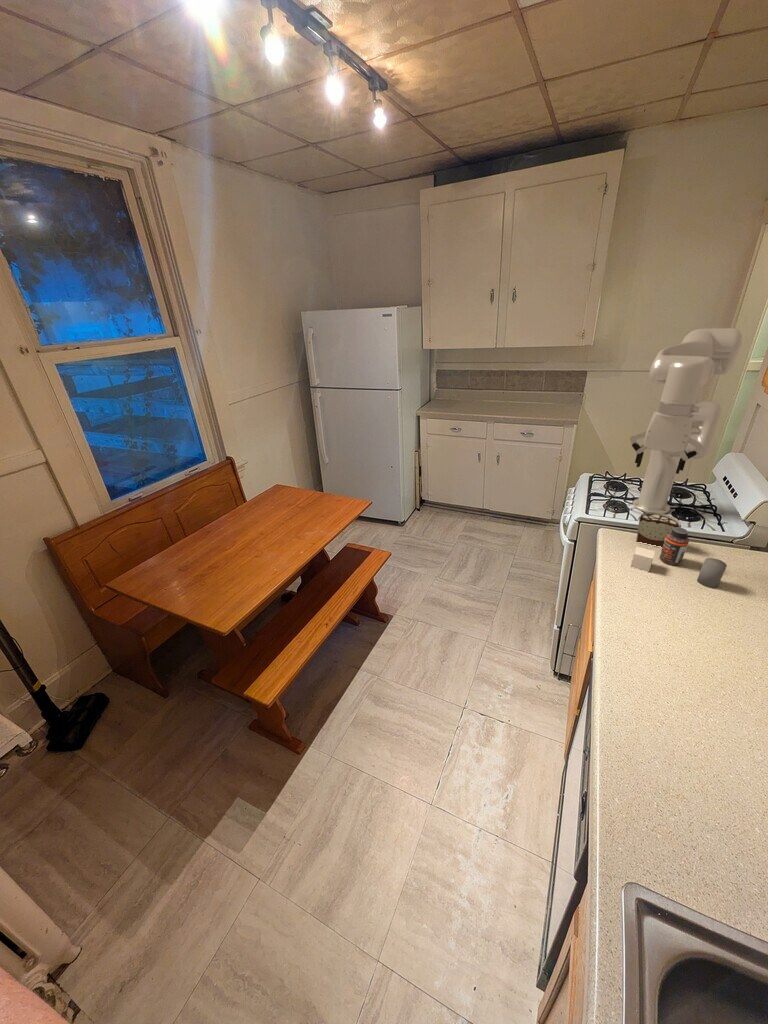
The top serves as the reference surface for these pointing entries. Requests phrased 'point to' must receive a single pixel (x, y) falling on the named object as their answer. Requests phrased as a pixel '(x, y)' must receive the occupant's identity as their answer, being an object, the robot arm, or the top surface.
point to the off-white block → (642, 559)
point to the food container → (655, 527)
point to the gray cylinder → (711, 572)
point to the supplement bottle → (674, 546)
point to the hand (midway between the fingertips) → (657, 468)
